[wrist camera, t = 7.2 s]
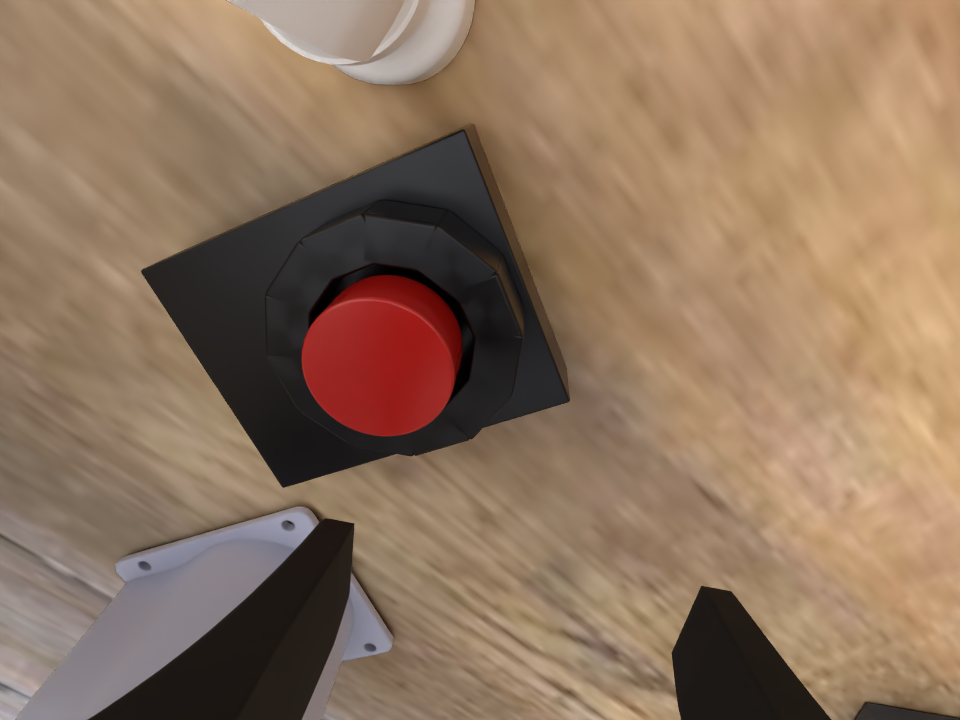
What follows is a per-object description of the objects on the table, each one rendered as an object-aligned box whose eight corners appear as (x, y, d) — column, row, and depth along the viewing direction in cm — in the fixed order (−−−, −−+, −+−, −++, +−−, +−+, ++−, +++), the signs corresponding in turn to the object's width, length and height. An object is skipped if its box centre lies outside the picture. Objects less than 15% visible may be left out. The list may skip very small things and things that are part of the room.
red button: (364, 417, 16) (345, 454, 14) (300, 302, 15) (272, 328, 13) (484, 379, 15) (478, 413, 13) (428, 252, 14) (413, 274, 12)
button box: (306, 451, 21) (258, 526, 18) (182, 250, 18) (95, 291, 15) (567, 368, 19) (574, 436, 15) (473, 123, 16) (454, 133, 12)
